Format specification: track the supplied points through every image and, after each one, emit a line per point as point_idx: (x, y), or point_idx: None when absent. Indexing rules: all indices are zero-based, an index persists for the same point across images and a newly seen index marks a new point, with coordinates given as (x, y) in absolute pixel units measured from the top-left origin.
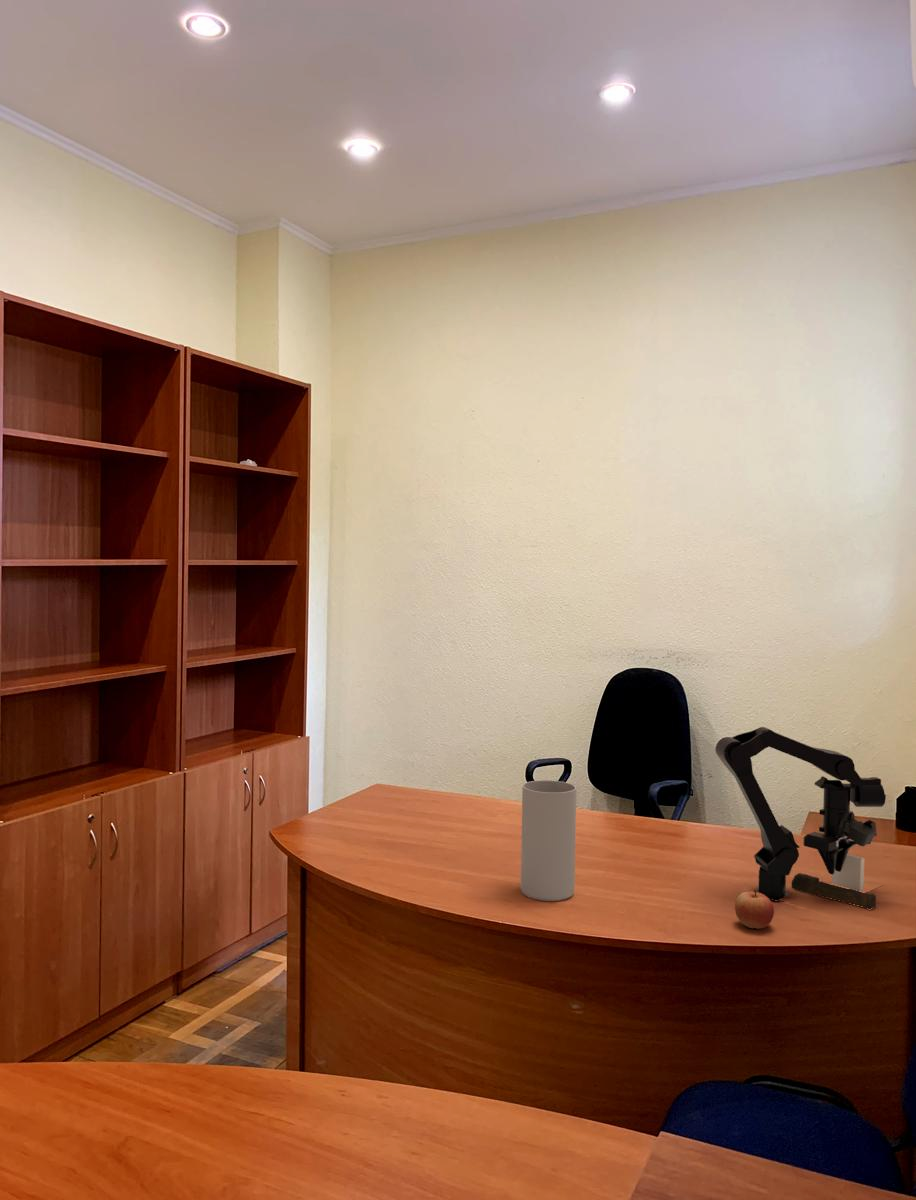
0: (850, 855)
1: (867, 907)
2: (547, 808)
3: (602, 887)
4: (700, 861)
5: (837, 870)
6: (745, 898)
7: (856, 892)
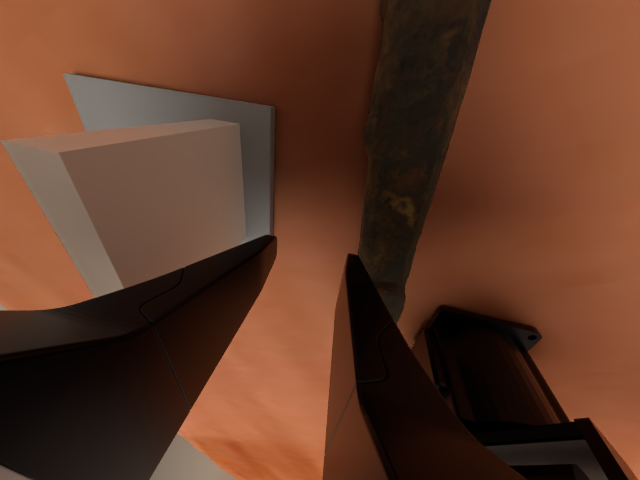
0: (89, 250)
1: None
2: None
3: None
4: (320, 433)
5: (275, 250)
6: None
7: (444, 53)
